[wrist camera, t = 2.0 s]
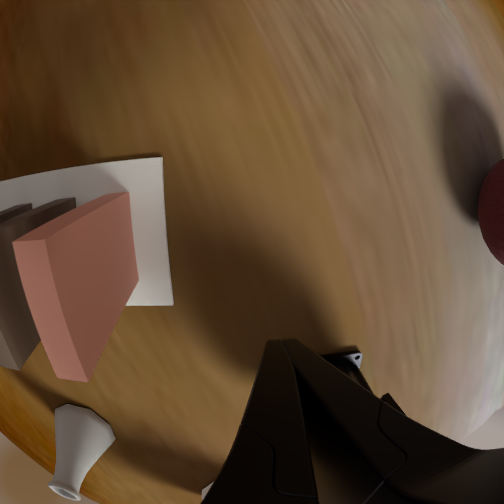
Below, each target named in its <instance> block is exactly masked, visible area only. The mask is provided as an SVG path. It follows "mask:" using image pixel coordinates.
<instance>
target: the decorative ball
mask: <svg viewBox="0 0 504 504" xmlns="http://www.w3.org/2000/svg"><path fill="white" fill-rule="evenodd" d="M478 220H479V225H480V229H481V233H482V236H483V239H484V241H485V243H486V244H487V246H488V248H489V250H490V252H491V253H492V254H493V255H494V257H495V258H496V259H497V260H498V261H499V262H500V263H501V264H503V265H504V159H503V160H501V161H500V162H498V163H497V164H496V165H495V166H494V167H493V168H492V169H491V170H490V172H489V173H488V174H487V176H486V178H485V180H484V182H483V185H482V188H481V191H480V195H479V201H478Z"/></svg>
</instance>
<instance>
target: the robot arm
mask: <svg viewBox="0 0 504 504" xmlns="http://www.w3.org/2000/svg"><path fill="white" fill-rule="evenodd" d="M356 356H357V357H356ZM361 360H362V354H361V352H360V351H351V352H345V353H338V354H331V355H324V356H319V355H318V354H317V353H315V352H314V351H312V350H311V349H310V348H308V347H307V346H306V345H304V344H303V343H302V342H300V341H299V340H298V339H296V338H290V339H282V340H280V339H278V340H268V341H267V342H266V345H265V349H264V352H263V355H262V359H261V362H260V365H259V368H258V371H257V375H256V378H255V381H254V384H253V387H252V390H251V394H250V397H249V400H248V403H247V406H246V409H245V412H244V415H243V418H242V421H241V425H240V426H239V429H238V432H237V435H236V438H235V440H234V443H233V445H232V448H231V450H230V453H229V455H228V457H227V459H226V461H225V463H224V465H223V466H222V468H221V470H220V472H219V474H218V475H217V477H216V479H215V481H214V482H213V484H212V486H211V487H210V489H209V491H208V492H207V494H206V495H205V497H204V499H203V500H202V502H201V503H200V504H504V448H499V449H490V450H481V449H474V448H471V447H467V446H465V445H462V444H460V443H458V442H456V441H454V440H452V439H450V438H447V437H445V436H443V435H441V434H439V433H437V432H435V431H433V430H431V429H429V428H427V427H425V426H423V425H421V424H420V423H418V422H416V421H414V420H412V419H410V418H409V417H407V416H406V415H405V413H404V412H403V411H402V410H401V408H400V407H399V406H398V404H397V403H396V402H395V401H394V399H393V398H392V397H391V396H390V394H389V393H386V394H385V395H383V396H382V397H381V398H378V397H377V396H375V395H374V393H373V392H372V390H371V388H370V387H369V385H368V383H367V382H366V380H365V378H364V376H363V375H362V373H361V371H360V370H359V367H360V364H361Z"/></svg>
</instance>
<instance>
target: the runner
mask: <svg viewBox="0 0 504 504" xmlns="http://www.w3.org/2000/svg"><path fill="white" fill-rule="evenodd" d="M121 192H129V196H130V209H131V220H132V230H133V239H134V247H135V255H136V262H137V269H138V276H139V281H138V283H137V285H136V287H135V289H134V290H133V292H132V294H131V296H130V298H129V300H128V302H127V304H126V306H165V305H174V299H173V291H172V282H171V273H170V264H169V254H168V243H167V231H166V217H165V201H164V181H163V157H156V158H144V159H134V160H124V161H115V162H106V163H98V164H91V165H84V166H77V167H71V168H65V169H59V170H53V171H47V172H42V173H37V174H32V175H27V176H22V177H18V178H13V179H9V180H5V181H0V212H1V211H3V210H6V209H8V208H11V207H13V206H16V205H20V204H27V203H32V209H34V208H36V207H39V206H41V205H44V204H46V203H49V202H51V201H54V200H56V199H63V198H71V197H75V199H76V208H77V207H79V206H81V205H83V204H85V203H87V202H89V201H92V200H94V199H96V198H98V197H100V196H103V195H105V194H109V193H121Z"/></svg>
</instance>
